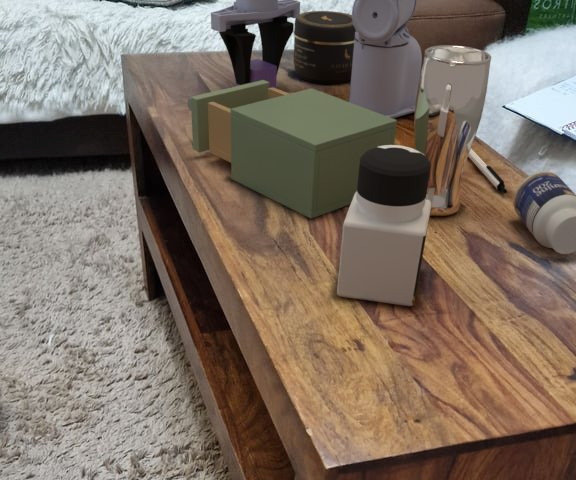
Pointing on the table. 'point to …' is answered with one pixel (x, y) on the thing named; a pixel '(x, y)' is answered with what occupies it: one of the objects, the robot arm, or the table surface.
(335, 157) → the cabinet
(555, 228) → the pill bottle
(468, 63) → the beer glass
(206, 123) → the drawer
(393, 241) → the medicine bottle
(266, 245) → the table surface
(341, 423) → the table surface
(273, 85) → the cube
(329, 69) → the jar
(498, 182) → the pen
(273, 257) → the table surface
